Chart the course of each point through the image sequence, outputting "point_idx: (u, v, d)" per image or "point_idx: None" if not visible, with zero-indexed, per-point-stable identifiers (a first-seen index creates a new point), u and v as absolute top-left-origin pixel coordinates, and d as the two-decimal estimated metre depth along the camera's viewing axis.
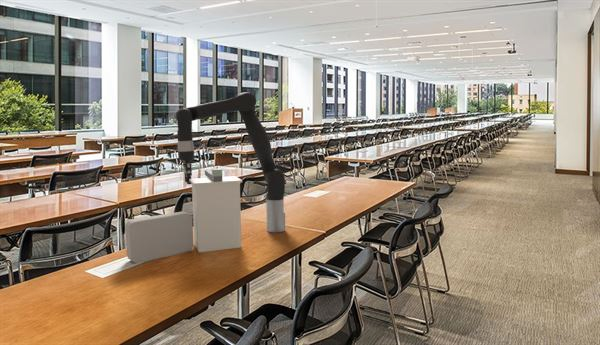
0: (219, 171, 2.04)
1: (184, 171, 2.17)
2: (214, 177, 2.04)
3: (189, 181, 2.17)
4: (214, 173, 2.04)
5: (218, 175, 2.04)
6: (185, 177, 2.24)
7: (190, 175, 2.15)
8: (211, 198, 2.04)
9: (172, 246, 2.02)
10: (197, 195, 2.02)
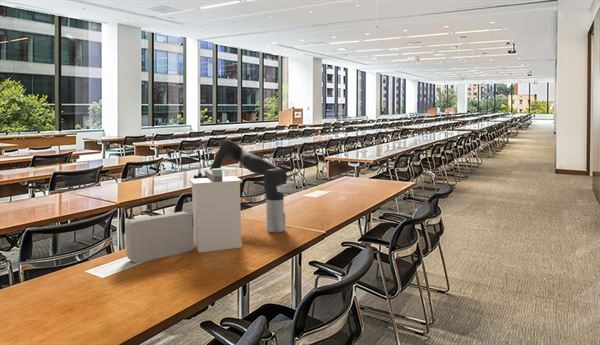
0: (219, 171, 2.04)
1: None
2: (214, 177, 2.04)
3: None
4: (214, 173, 2.04)
5: (218, 175, 2.04)
6: None
7: (194, 176, 2.38)
8: (211, 198, 2.04)
9: (172, 246, 2.02)
10: (197, 195, 2.02)
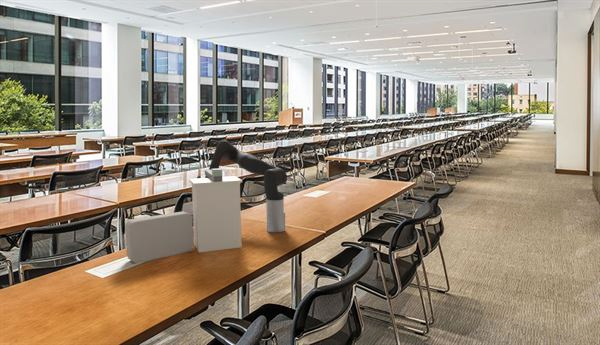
0: (219, 171, 2.04)
1: None
2: (214, 177, 2.04)
3: (198, 177, 2.28)
4: (214, 173, 2.04)
5: (218, 175, 2.04)
6: None
7: None
8: (211, 198, 2.04)
9: (172, 246, 2.02)
10: (197, 195, 2.02)
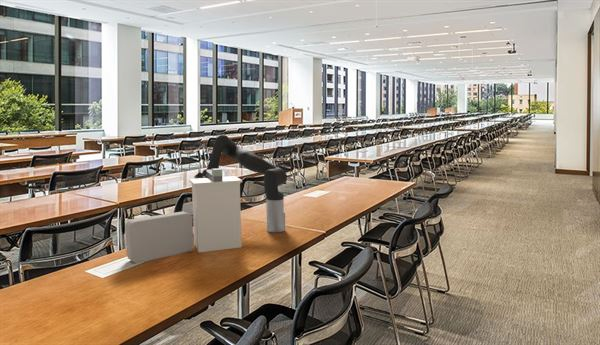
0: (219, 171, 2.04)
1: None
2: (214, 177, 2.04)
3: None
4: (214, 173, 2.04)
5: (218, 175, 2.04)
6: None
7: (199, 173, 2.24)
8: (211, 198, 2.04)
9: (172, 246, 2.02)
10: (197, 195, 2.02)
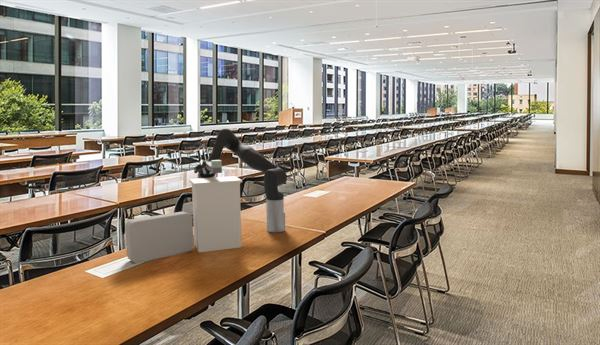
0: (218, 162, 2.04)
1: (204, 171, 2.26)
2: (213, 168, 2.04)
3: None
4: (213, 164, 2.03)
5: (217, 166, 2.04)
6: None
7: (198, 165, 2.24)
8: (211, 198, 2.04)
9: (172, 246, 2.02)
10: (197, 195, 2.02)
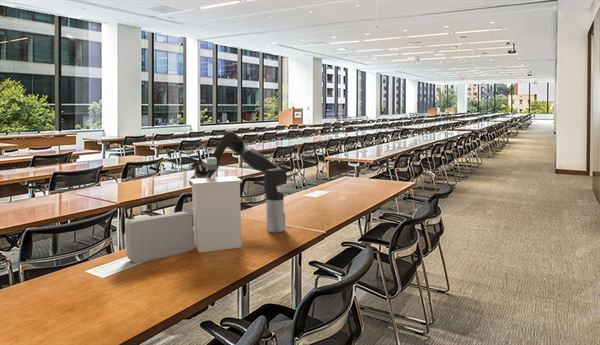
0: (214, 160, 2.15)
1: (200, 168, 2.37)
2: (209, 165, 2.15)
3: None
4: (209, 161, 2.14)
5: (213, 163, 2.15)
6: None
7: (195, 162, 2.35)
8: (211, 198, 2.04)
9: (172, 246, 2.02)
10: (197, 195, 2.02)
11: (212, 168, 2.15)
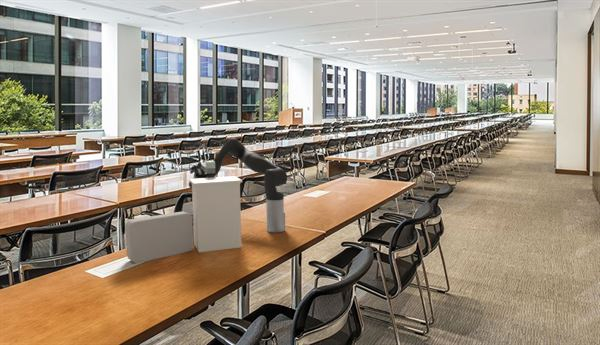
0: (212, 163, 2.19)
1: (199, 171, 2.41)
2: (207, 169, 2.19)
3: None
4: (207, 165, 2.18)
5: (211, 167, 2.19)
6: None
7: (194, 166, 2.39)
8: (211, 198, 2.04)
9: (172, 246, 2.02)
10: (197, 195, 2.02)
11: (211, 172, 2.19)
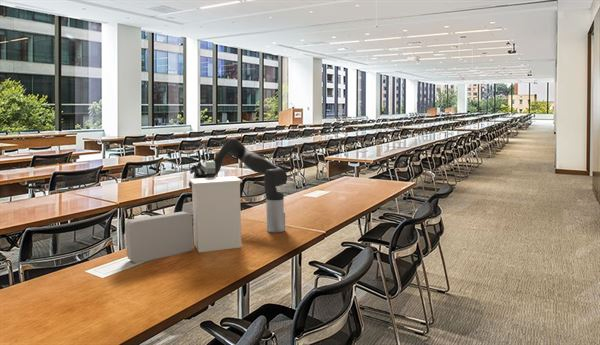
0: (212, 163, 2.19)
1: (199, 171, 2.41)
2: (207, 169, 2.19)
3: None
4: (207, 165, 2.18)
5: (211, 167, 2.19)
6: None
7: (194, 166, 2.39)
8: (211, 198, 2.04)
9: (172, 246, 2.02)
10: (197, 195, 2.02)
11: (211, 172, 2.19)
